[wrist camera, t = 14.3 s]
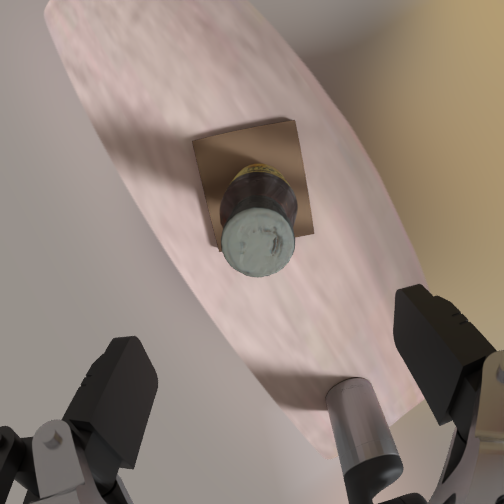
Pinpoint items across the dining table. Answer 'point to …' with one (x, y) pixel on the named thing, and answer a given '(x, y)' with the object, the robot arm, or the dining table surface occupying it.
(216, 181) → the walnut board
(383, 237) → the dining table surface
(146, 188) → the dining table surface
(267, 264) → the sauce bottle
